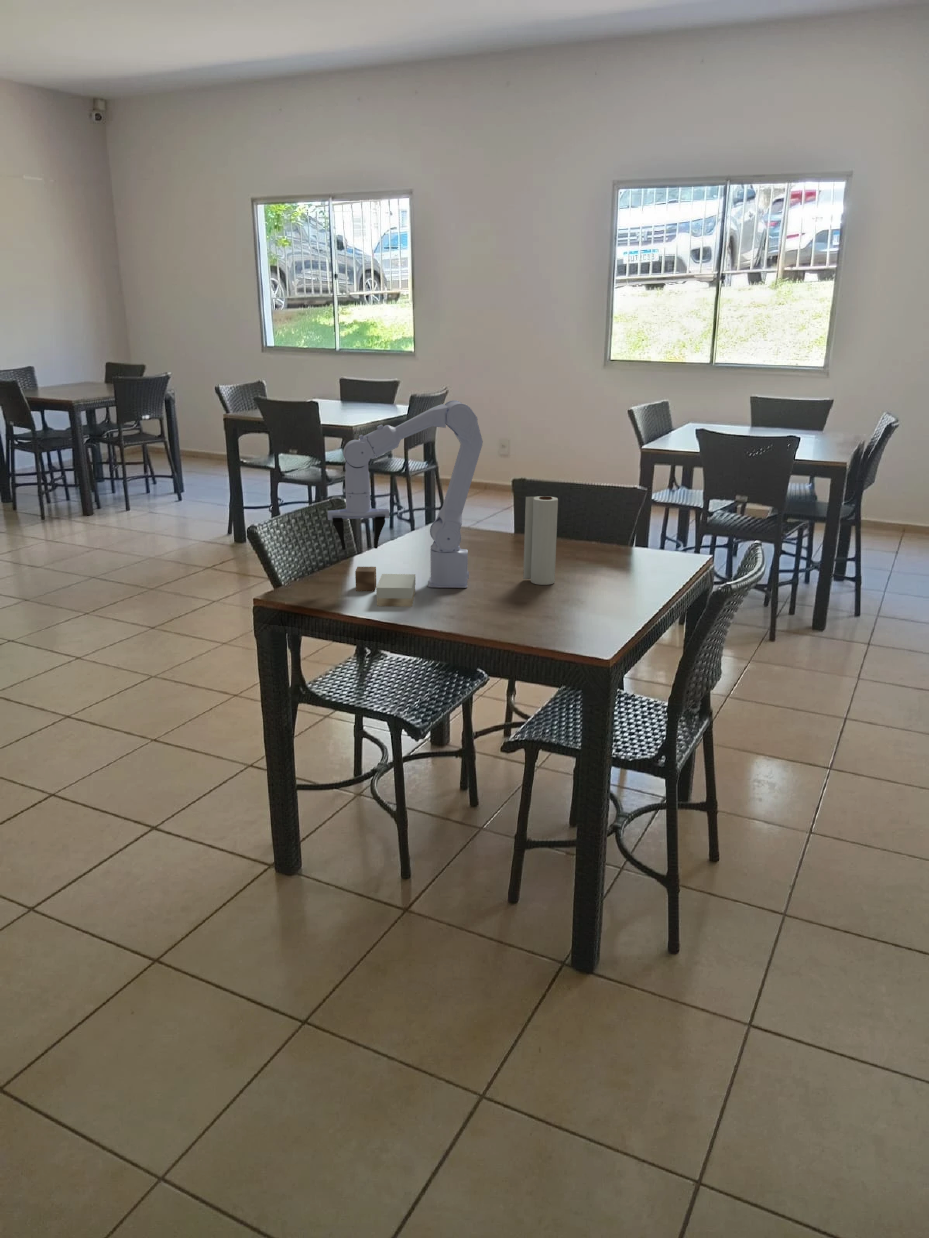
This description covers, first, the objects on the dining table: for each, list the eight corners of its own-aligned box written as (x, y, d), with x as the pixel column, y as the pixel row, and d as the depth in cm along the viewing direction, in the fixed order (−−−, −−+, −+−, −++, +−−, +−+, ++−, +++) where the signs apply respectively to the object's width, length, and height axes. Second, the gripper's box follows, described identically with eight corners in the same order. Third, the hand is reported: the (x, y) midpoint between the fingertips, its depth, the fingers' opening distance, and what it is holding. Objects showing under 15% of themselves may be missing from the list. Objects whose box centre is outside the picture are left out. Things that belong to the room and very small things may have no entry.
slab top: (415, 584, 221) (415, 574, 220) (411, 598, 209) (411, 588, 209) (382, 583, 221) (381, 573, 220) (376, 598, 210) (376, 587, 209)
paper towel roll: (559, 583, 229) (563, 498, 223) (539, 586, 226) (542, 500, 220) (542, 576, 235) (545, 493, 229) (523, 580, 232) (525, 495, 226)
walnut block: (376, 586, 226) (376, 566, 224) (374, 591, 221) (374, 571, 220) (358, 586, 226) (357, 566, 224) (355, 591, 221) (355, 571, 220)
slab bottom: (415, 594, 222) (415, 584, 221) (412, 609, 210) (412, 598, 209) (381, 594, 222) (381, 584, 221) (377, 608, 210) (377, 598, 209)
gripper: (387, 488, 222) (388, 543, 226) (326, 489, 220) (328, 545, 224) (389, 493, 215) (390, 550, 219) (327, 495, 213) (329, 552, 217)
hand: (359, 548), depth 221 cm, fingers open, 7 cm apart
